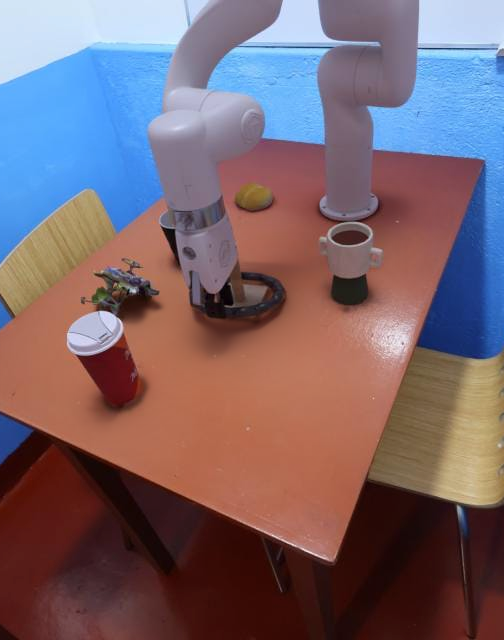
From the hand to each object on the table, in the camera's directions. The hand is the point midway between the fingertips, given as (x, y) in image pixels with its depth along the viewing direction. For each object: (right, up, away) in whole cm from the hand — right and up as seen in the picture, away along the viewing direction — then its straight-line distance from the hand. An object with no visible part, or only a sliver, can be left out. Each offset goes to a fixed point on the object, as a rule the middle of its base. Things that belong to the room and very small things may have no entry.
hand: (221, 309), depth 76 cm
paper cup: (-14, -13, -3) cm, 20 cm away
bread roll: (+5, +26, +35) cm, 44 cm away
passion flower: (-18, 0, +12) cm, 22 cm away
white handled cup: (+22, +2, +6) cm, 23 cm away
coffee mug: (-7, +12, +22) cm, 26 cm away
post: (+3, +1, +8) cm, 9 cm away
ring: (+2, +3, +6) cm, 7 cm away
